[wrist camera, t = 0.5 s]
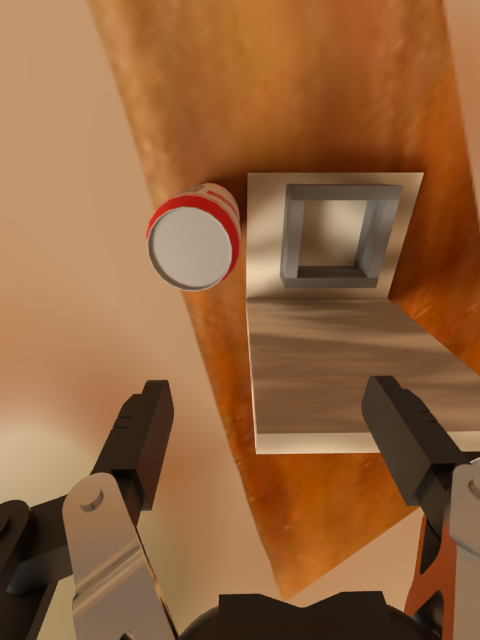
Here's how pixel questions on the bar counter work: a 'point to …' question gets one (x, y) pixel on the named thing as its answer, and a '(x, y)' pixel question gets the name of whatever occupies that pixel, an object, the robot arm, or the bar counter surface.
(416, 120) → the bar counter surface
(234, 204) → the beer can
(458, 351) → the bar counter surface
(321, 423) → the can rack
